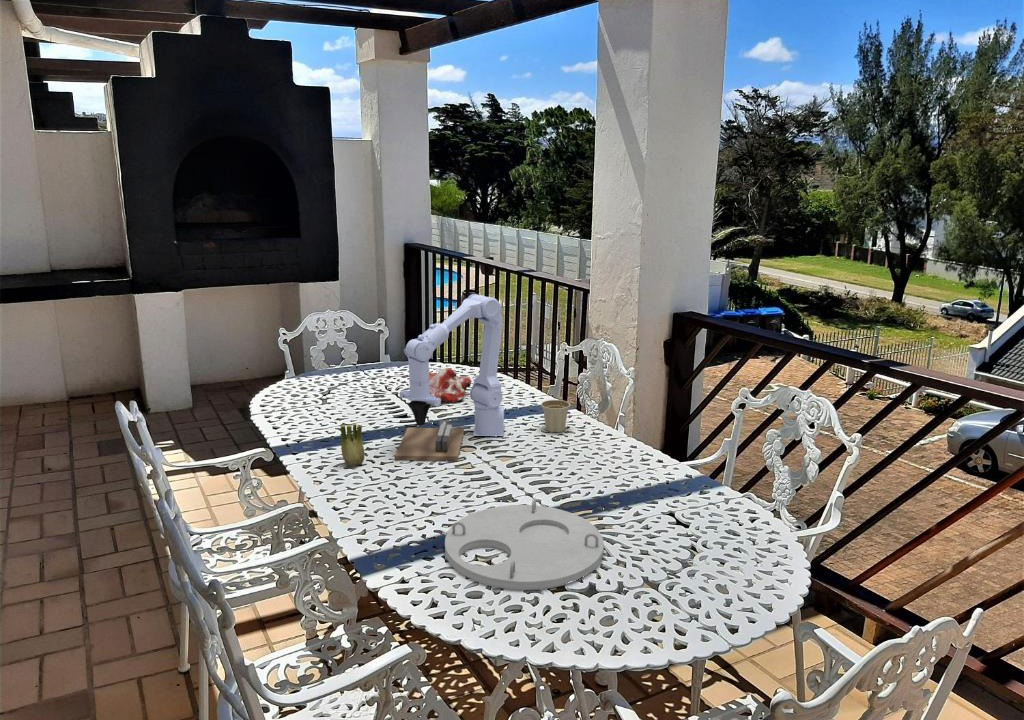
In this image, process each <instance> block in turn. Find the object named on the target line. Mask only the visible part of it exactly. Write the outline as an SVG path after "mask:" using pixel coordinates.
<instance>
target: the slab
mask: <svg viewBox="0 0 1024 720" xmlns="http://www.w3.org/2000/svg"><path fill="white" fill-rule="evenodd" d="M531 502H532V503H531V504H511V505H500V506H495V507H493V506H492V507H489V508H485V509H481V510H477V511H475V512H473V513H470V514H468V515H466V516H464V517H462V518H461V519H459V520H458V521H455V522H454V523H453V524H452V526H451V527H450V528H448V531H447V533H446V534H445V538H444V555H445V557H446V559H447V561H448V562H449V564H450V565H451V566H452V568H454V569H455V570H456V571H457V572H459V573H460V574H461V575H463V576H464V577H465V578H468V579H470V580H472V581H474V582H477V583H480V584H483V585H486V586H490V587H494V588H500V589H506V590H515V591H516V590H518V591H519V590H521V591H529V590H530V591H531V590H532V591H533V590H534V591H536V590H546V589H552V588H558V587H563V586H566V585H567V584H566V583H568V582H570V581H574V580H577V579H579V578H581V577H583V576H585V575H587V574H588V575H590V574H591V573H592V572H594V571H595V570H596V569H597V568H598V567H599V565H601V562H602V560H603V557H604V549H605V547H604V546H605V544H604V538H603V536H602V533H601V532H600V531H599V529H598V528H597V527H596V526H595V525H594V524H593V523H591V522H590V521H588V520H587V519H585V518H583V517H582V516H580V515H577V514H575V513H573V512H570V511H566V510H563V509H559V508H556V507H551V506H544V505H537V500H536V498H532V501H531ZM478 548H495V549H498V550H502V551H503V552H505V553H507V555H509V557H508V558H507V559H505V560H504V561H502V562H499V563H497V564H492V565H491V564H490V565H479V564H472V563H469V562H466V561H465V560H463V559H462V558H461V556H462V555H463V554H464V553H465V552H467V551H470V550H472V549H478ZM597 566H598V567H597ZM596 567H597V568H596ZM595 568H596V569H595ZM594 569H595V570H594ZM593 570H594V571H593ZM590 572H591V573H590ZM589 573H590V574H589ZM588 575H587V576H588ZM585 577H586V576H585ZM583 578H584V577H583ZM581 579H582V578H581ZM579 580H580V579H579ZM577 581H578V580H577ZM565 584H566V585H565Z"/></svg>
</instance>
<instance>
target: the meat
mask: <svg viewBox="0 0 1024 720" xmlns="http://www.w3.org/2000/svg"><path fill="white" fill-rule="evenodd" d="M438 370H439V371H438V372H437V373H436V372H429V390H430V394H431V395H433V396H435V397H437V398H440V399H441V402H443V401H444V402H449V403H455V402H458V401H460V400H462V399H463V397H464V396H465V395H466V391H467V388H470V387H471V385H472V382H473V381H472V379H471V378H470V377H467V376H464V375H462V376H457V373H456V371H454V369H452V368H449V367H445V368H440V369H438Z"/></svg>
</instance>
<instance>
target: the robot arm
mask: <svg viewBox="0 0 1024 720" xmlns="http://www.w3.org/2000/svg"><path fill="white" fill-rule="evenodd" d="M468 319H478V320H479V321H480V322H481V324H483V326H484V328H483V334H482V335H483V336H482V337H483V338H482V344H481V353H480V354H481V355H480V365H479V371H478V373H479V374H478V375H477V376H476V377H475V378H474V379H473V383H472V386H471V388H470V391H469V397H470V399H471V400H472V401H473V406H474V428H473V432H472V437H474V436H495V438H497V436H503V437H504V434H503V433H504V431H505V429H506V426H505V425H506V423H505V406H503V405H501V403H502V401H503V392H502V383H501V382H500V380H499V379H498V377H497V376H498V367H499V359H500V350H501V343H502V342H501V340H502V335H503V334H502V332H503V325H504V324H503V323H504V321H503V315H502V304H501V302H499V300H498V299H496V298H495V297H491V296H490V297H489V296H484V295H480V294H477V293H471V294H470V295H468V297H467V298H465V299H463V301H462V304H461V305H459V307H458V308H456V310H454V311H453V313H451V314H450V315H449V316H448V317H447V318H446V319H445V320H444V321H443V322H441V323H439V322H436V323H431V324H430V325H429V328H428V329H427V330H425V331H424V332H423V333H422V334H419V335H418V336H417V338H414V339H413V338H412V339H410V340H409V341H408V342H407V344H406V346H405V348H404V349H403V352H404V354H405V356H406V357H407V361H408V373H409V374H408V376H409V378H408V381H409V390H406V389H404V390H401V391H399V399H408V401H410V402H408V403H407V406H408V407H409V408H410V410H411V412H412V414H413V418H414V420H415V423H416V426H418V427H421V426H424V425H425V424H426V419H427V416H428V413H429V410H430V408H431V406H434V407H439V406H441V405H442V404H441V402H442V401H441V399H440V398H437V397H435V396H433V395H431V394H430V390H429V373H430V366H429V365H430V363H429V360H430V359H431V358H432V356H433V353H434V352H435V350H436V349H437V348H438V347H439V346H441V345H442V344H443V343H444V342H446V341H447V340H448V339H449V338H450V337H449V336H450V335H449V334H450V332H452V331H453V330H454V329H456V328H457V327H459V326H460V325H462V324H463V323H465V321H467V320H468Z"/></svg>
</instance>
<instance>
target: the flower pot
mask: <svg viewBox="0 0 1024 720" xmlns="http://www.w3.org/2000/svg"><path fill="white" fill-rule="evenodd" d="M540 406H541V407H542V410H543V418H544V425H545V426H544V427H545V430H546V431H547V432H550V433H562V432H564V431H565V430H566V425H567V420H568V419H567V418H568V412H569V410H570V406H571V403H570V402H569V401H566V400H562V399H561V400H560V399H550V400H549V399H548V400H544V401H542V402H541V403H540Z"/></svg>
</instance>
